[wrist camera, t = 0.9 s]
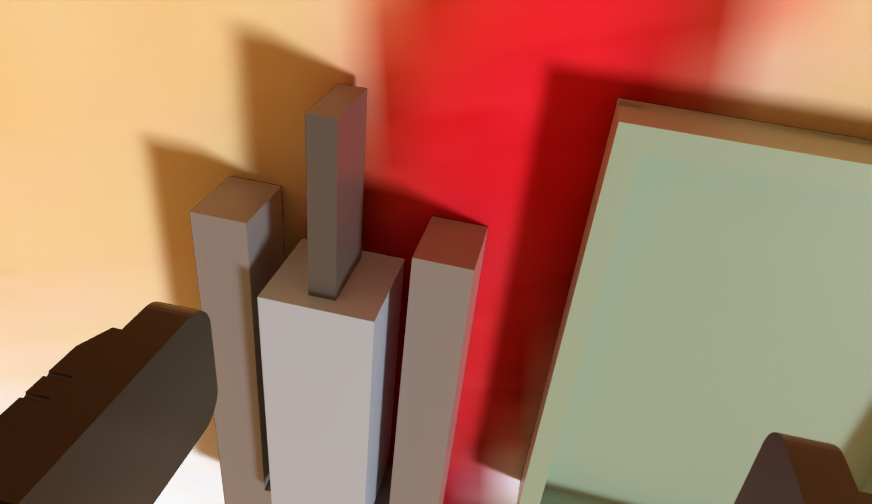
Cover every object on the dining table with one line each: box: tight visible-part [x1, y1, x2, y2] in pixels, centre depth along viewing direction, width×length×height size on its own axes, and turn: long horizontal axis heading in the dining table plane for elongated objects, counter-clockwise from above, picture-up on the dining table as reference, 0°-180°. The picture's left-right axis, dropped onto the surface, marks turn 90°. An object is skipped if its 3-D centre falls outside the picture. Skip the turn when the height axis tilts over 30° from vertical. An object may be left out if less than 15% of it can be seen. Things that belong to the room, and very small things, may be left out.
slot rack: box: [190, 176, 488, 504], centre depth 34 cm, size 21×12×4 cm, turn 174°
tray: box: [517, 98, 872, 504], centre depth 29 cm, size 22×16×2 cm
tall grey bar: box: [257, 84, 405, 504], centre depth 31 cm, size 22×5×5 cm, turn 175°
